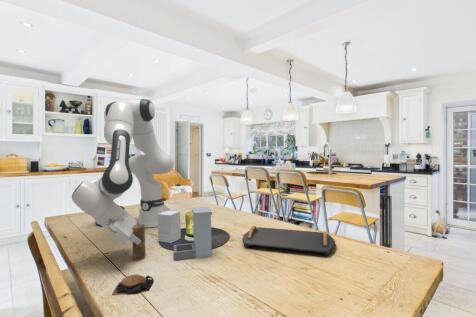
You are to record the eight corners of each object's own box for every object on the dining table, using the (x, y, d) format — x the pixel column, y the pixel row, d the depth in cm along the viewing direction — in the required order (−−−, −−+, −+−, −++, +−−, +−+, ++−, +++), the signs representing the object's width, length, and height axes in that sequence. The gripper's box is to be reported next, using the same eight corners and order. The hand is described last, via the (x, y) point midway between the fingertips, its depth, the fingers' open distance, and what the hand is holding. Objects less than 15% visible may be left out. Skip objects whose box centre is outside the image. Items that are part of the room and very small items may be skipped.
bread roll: (110, 298, 72) (109, 285, 72) (120, 282, 80) (119, 271, 80) (149, 294, 73) (148, 282, 73) (155, 279, 81) (154, 268, 81)
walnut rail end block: (133, 260, 95) (132, 228, 95) (134, 255, 99) (133, 225, 99) (144, 258, 96) (143, 227, 96) (145, 254, 100) (144, 224, 100)
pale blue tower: (174, 261, 94) (172, 214, 93) (173, 252, 102) (172, 209, 102) (212, 256, 97) (212, 211, 97) (209, 248, 106) (208, 206, 105)
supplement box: (181, 238, 119) (180, 211, 118) (170, 243, 112) (170, 215, 111) (168, 236, 122) (168, 210, 121) (157, 241, 115) (157, 213, 115)
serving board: (334, 239, 115) (334, 225, 115) (336, 260, 93) (336, 244, 93) (251, 232, 127) (251, 219, 127) (236, 249, 105) (236, 234, 105)
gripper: (112, 217, 85) (144, 243, 88) (123, 205, 105) (148, 226, 108) (97, 232, 84) (130, 257, 87) (111, 216, 104) (137, 237, 107)
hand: (140, 240), depth 98 cm, fingers closed on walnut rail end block, 4 cm apart
